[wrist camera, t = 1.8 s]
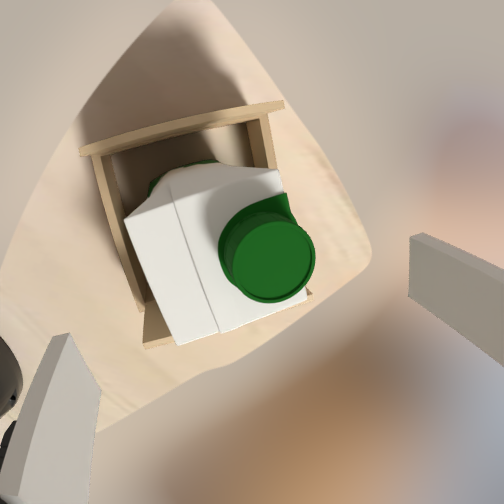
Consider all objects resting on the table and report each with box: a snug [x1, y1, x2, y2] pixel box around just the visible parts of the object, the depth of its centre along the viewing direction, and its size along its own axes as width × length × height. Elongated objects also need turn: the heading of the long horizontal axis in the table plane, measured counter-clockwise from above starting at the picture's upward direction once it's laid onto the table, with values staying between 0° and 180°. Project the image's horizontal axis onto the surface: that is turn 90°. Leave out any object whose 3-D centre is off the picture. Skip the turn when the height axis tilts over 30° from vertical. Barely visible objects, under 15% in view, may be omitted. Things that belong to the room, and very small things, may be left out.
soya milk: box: [124, 160, 315, 346], centre depth 23 cm, size 9×9×20 cm
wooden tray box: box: [79, 100, 314, 349], centre depth 27 cm, size 16×16×12 cm
